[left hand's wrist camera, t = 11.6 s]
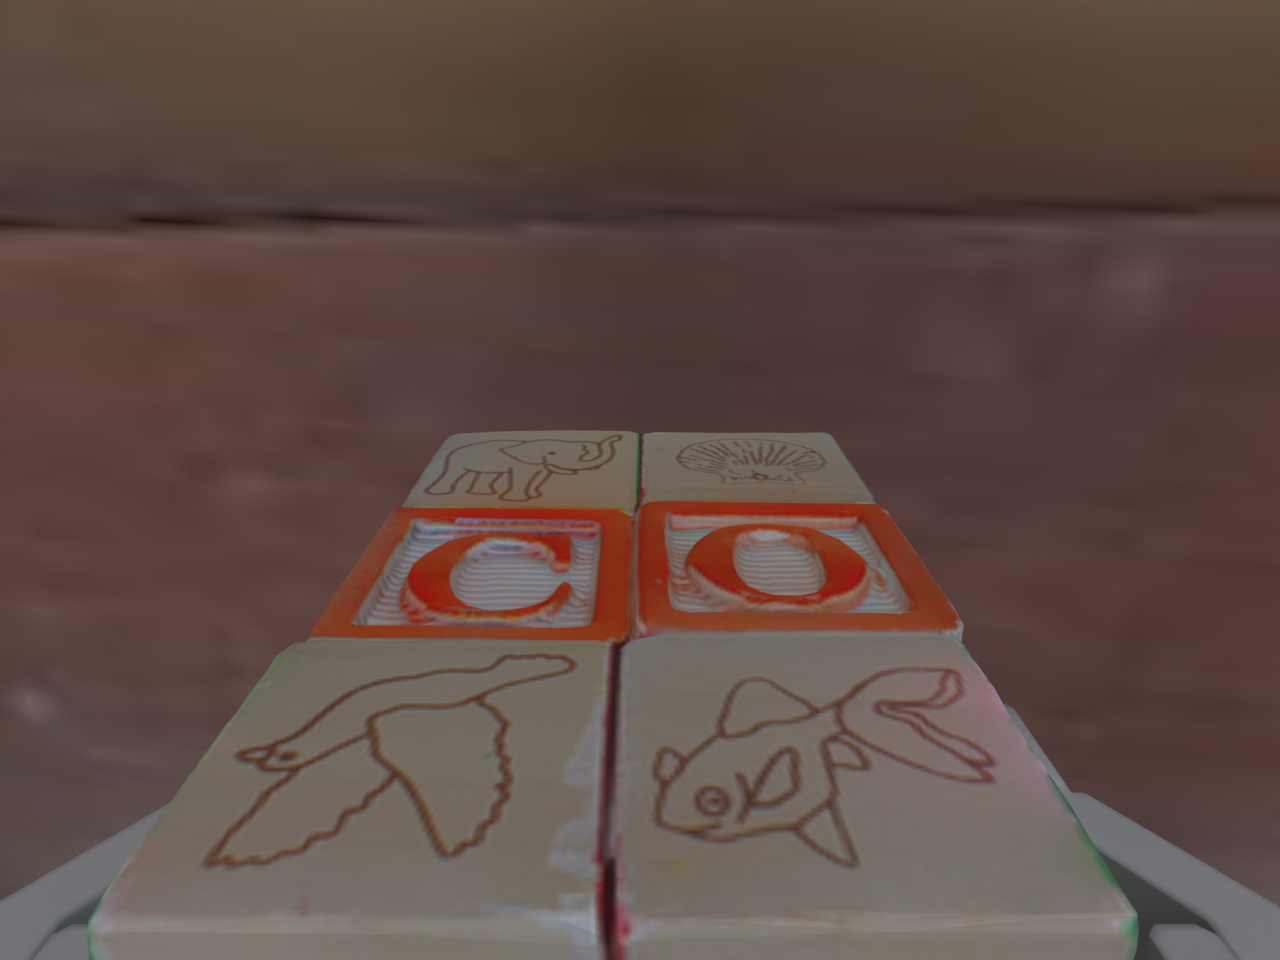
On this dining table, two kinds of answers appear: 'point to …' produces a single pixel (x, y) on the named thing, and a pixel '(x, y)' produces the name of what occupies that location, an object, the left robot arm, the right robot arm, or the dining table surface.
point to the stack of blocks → (623, 738)
